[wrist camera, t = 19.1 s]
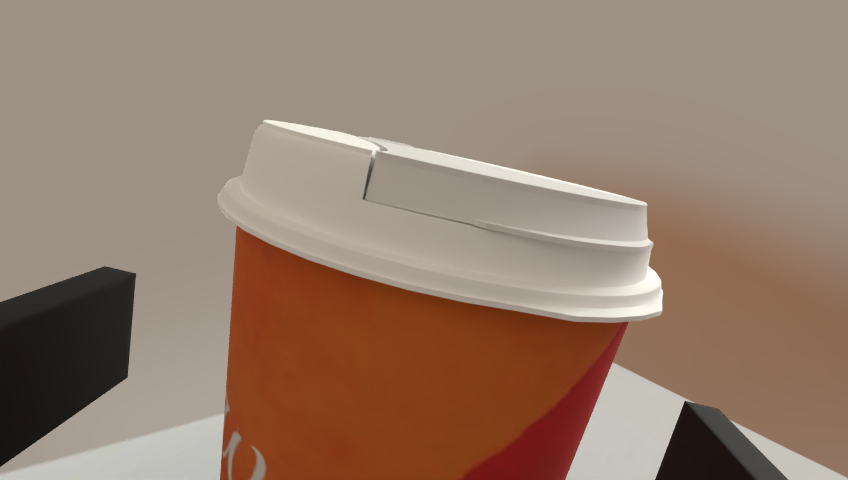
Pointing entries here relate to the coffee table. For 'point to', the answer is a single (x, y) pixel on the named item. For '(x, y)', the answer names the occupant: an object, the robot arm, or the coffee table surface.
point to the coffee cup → (419, 311)
